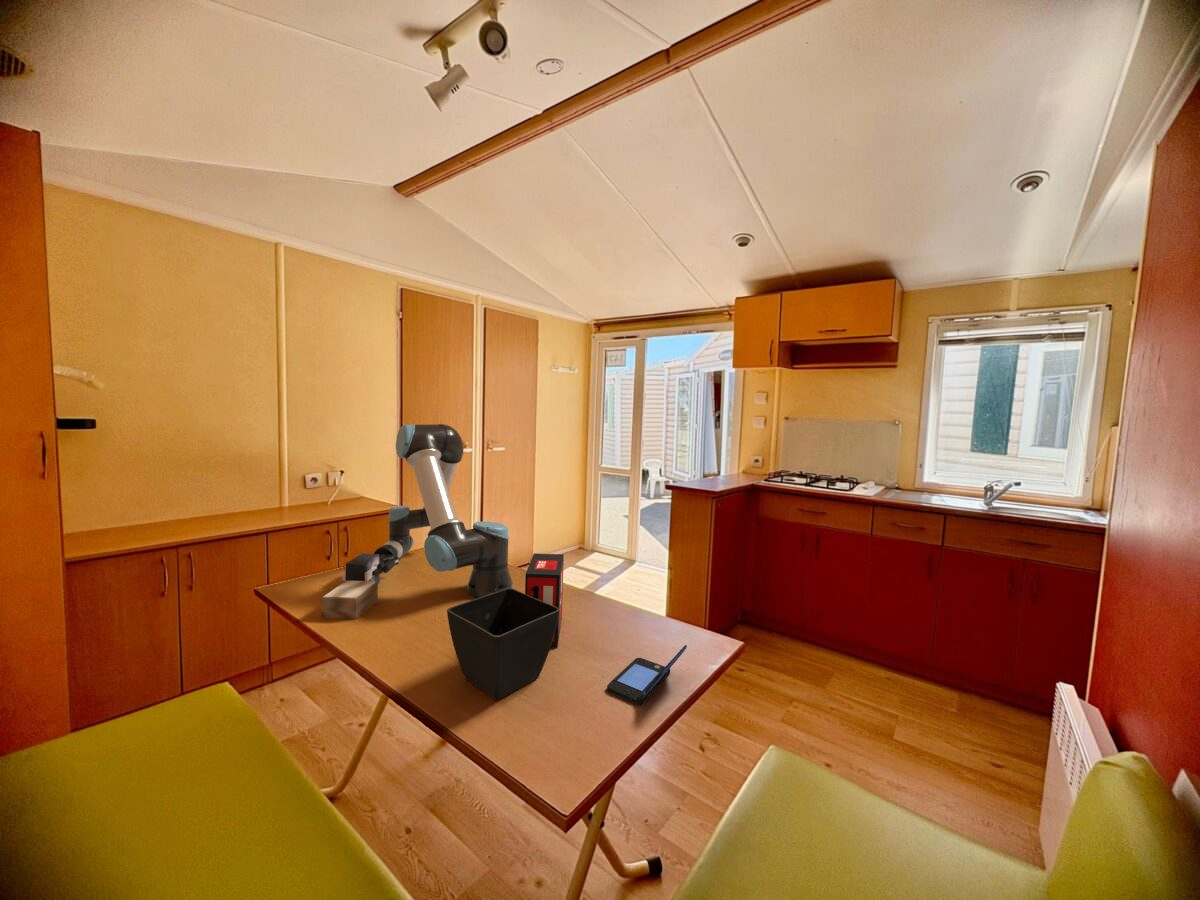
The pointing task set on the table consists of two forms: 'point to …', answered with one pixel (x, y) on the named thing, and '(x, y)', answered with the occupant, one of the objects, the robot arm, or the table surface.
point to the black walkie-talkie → (640, 679)
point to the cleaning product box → (547, 583)
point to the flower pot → (502, 639)
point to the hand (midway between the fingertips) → (355, 576)
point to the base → (349, 599)
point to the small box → (361, 567)
